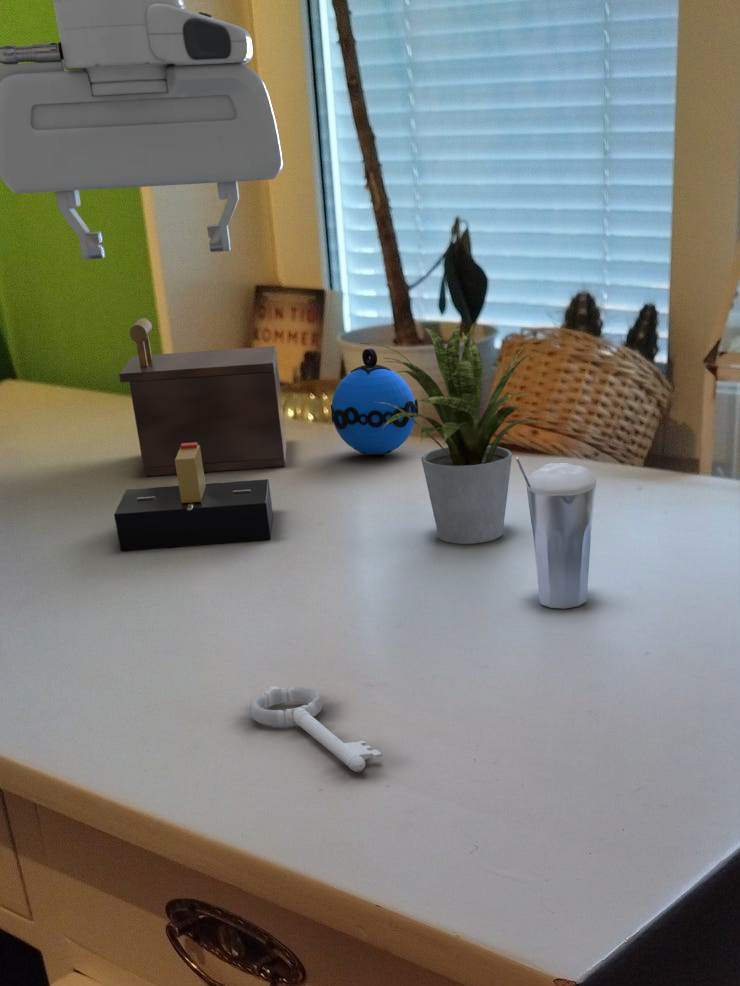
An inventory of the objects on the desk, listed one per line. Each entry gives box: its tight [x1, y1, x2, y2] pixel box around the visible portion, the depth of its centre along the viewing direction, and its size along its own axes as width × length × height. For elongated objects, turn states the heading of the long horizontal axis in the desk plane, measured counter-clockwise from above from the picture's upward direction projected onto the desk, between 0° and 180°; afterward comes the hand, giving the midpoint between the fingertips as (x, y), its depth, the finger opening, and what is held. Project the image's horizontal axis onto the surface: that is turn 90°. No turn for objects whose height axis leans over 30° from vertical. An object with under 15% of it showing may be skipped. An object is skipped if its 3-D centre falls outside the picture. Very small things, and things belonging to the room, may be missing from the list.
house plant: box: [360, 318, 546, 545], centre depth 102 cm, size 14×14×16 cm
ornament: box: [330, 347, 419, 457], centre depth 129 cm, size 9×9×10 cm
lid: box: [118, 317, 277, 383], centre depth 127 cm, size 14×11×5 cm
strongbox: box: [128, 355, 288, 477], centre depth 131 cm, size 14×11×9 cm
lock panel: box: [113, 478, 274, 552], centre depth 109 cm, size 12×9×3 cm
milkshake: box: [515, 457, 597, 610], centre depth 87 cm, size 4×5×10 cm
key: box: [249, 686, 383, 773], centre depth 72 cm, size 12×1×4 cm
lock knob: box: [175, 442, 207, 503], centre depth 107 cm, size 5×2×4 cm, turn 6°
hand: (157, 255), depth 99 cm, fingers open, 8 cm apart
